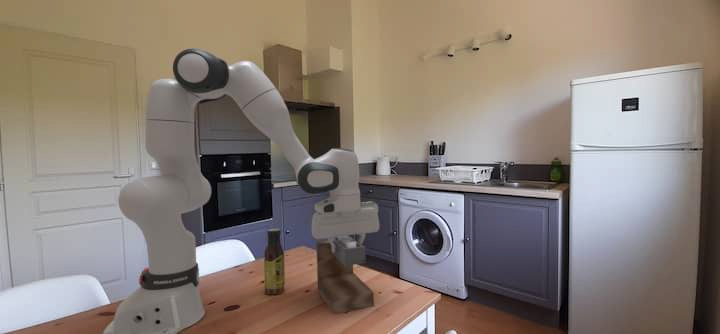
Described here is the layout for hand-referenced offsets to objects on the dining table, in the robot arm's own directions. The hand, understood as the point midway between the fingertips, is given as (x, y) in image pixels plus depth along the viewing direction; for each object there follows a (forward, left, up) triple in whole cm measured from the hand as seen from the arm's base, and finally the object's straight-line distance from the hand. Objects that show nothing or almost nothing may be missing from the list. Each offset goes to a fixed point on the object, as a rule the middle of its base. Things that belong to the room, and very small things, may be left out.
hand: (347, 250), depth 96 cm
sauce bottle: (-19, +16, -16) cm, 30 cm away
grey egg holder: (0, 0, -2) cm, 2 cm away
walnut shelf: (0, +3, -15) cm, 16 cm away
